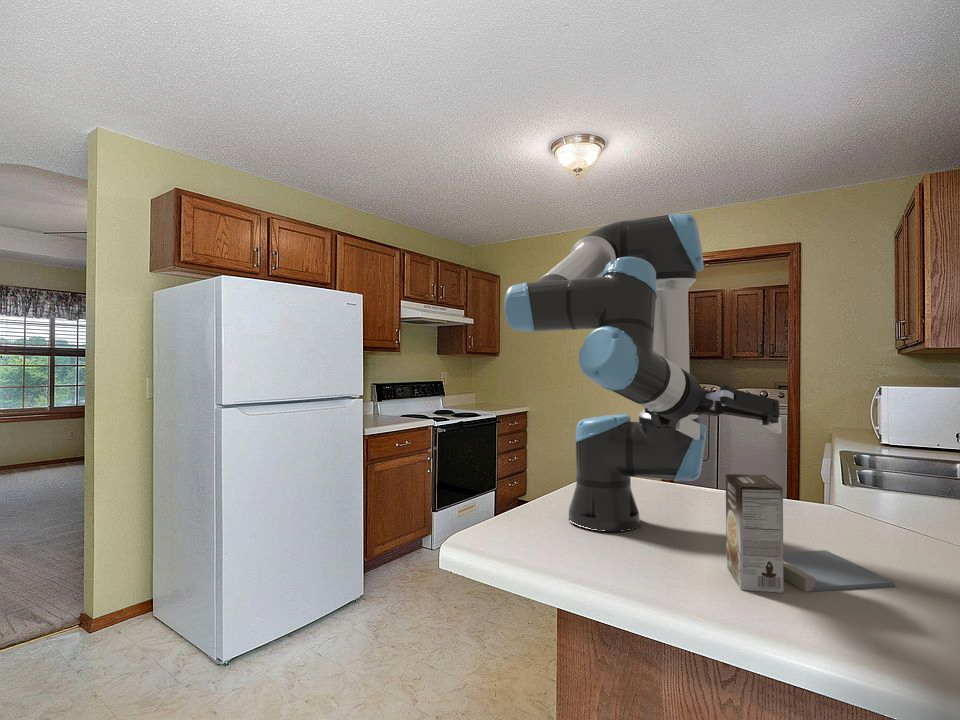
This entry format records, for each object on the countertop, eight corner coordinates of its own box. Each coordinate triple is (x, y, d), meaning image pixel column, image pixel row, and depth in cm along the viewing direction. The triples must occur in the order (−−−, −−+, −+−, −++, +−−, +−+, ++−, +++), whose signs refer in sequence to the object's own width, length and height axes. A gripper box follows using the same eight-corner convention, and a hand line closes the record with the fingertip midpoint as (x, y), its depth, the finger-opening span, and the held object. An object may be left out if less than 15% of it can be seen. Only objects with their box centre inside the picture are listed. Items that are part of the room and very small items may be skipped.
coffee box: (724, 567, 89) (723, 472, 89) (766, 570, 87) (764, 474, 88) (740, 590, 80) (739, 485, 80) (786, 594, 78) (785, 486, 79)
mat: (748, 557, 93) (748, 546, 93) (825, 553, 95) (825, 542, 95) (805, 591, 79) (805, 578, 79) (895, 586, 81) (895, 573, 81)
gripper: (594, 421, 85) (668, 454, 96) (751, 402, 66) (820, 446, 77) (598, 377, 87) (670, 415, 99) (750, 348, 68) (817, 398, 80)
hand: (736, 429), depth 88 cm, fingers open, 13 cm apart
